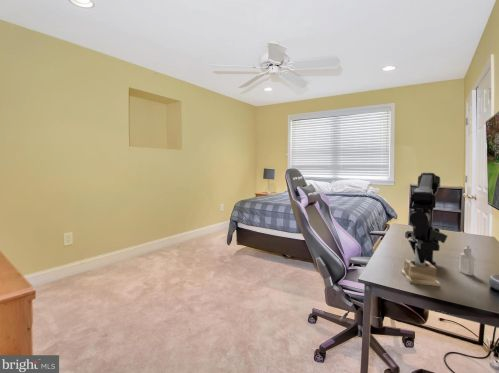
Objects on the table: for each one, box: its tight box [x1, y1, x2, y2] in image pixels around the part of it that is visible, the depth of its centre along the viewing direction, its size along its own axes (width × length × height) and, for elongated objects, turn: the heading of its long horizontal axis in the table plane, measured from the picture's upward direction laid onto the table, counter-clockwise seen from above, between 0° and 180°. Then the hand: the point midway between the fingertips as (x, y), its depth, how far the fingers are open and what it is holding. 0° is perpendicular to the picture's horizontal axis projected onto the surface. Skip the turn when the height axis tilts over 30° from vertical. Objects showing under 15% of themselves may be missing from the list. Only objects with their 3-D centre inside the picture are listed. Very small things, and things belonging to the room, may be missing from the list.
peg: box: [414, 243, 425, 266], centre depth 109 cm, size 4×4×10 cm
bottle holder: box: [400, 259, 441, 287], centre depth 109 cm, size 12×10×6 cm
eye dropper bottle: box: [458, 244, 476, 276], centre depth 114 cm, size 4×6×12 cm
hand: (420, 261), depth 109 cm, fingers closed on peg, 3 cm apart
